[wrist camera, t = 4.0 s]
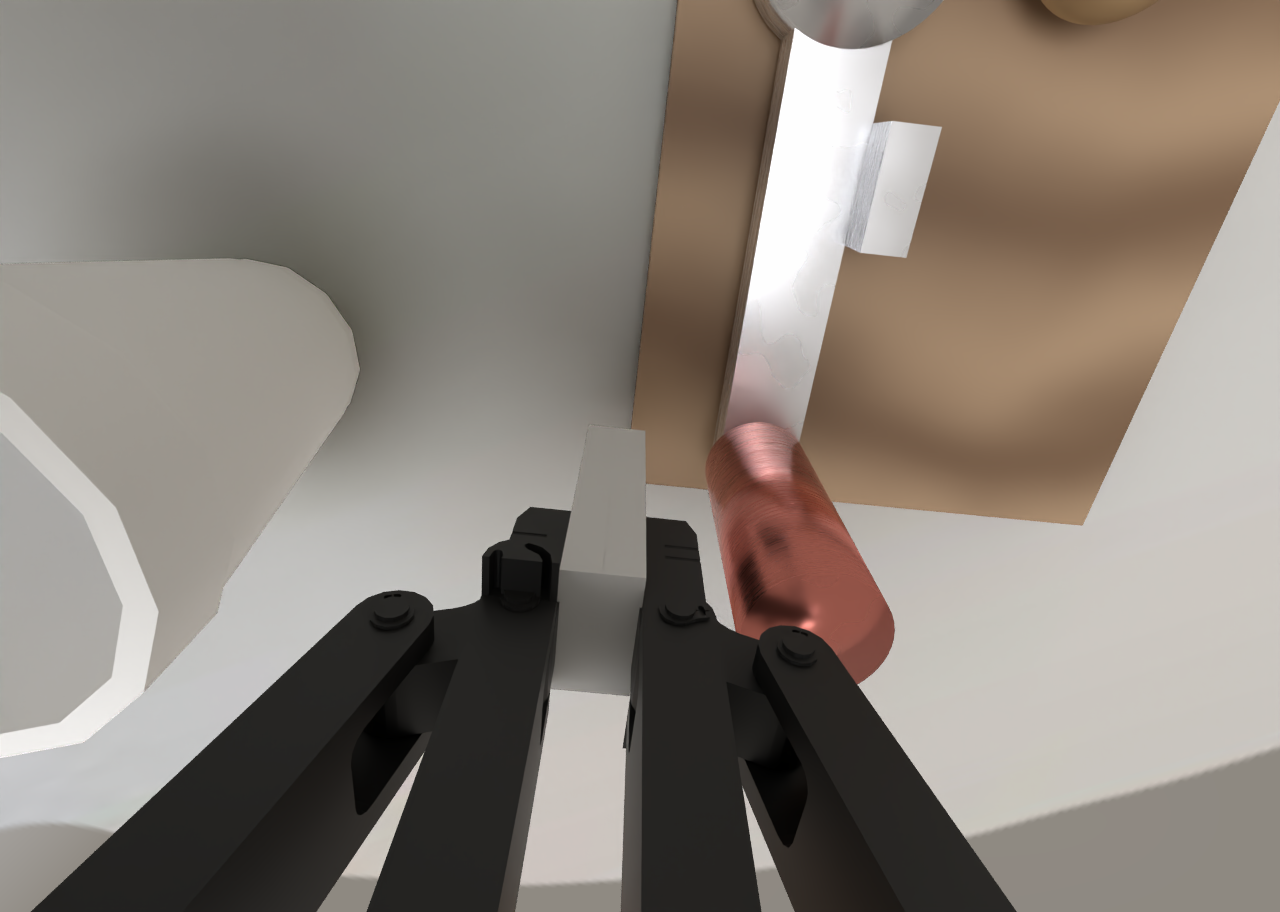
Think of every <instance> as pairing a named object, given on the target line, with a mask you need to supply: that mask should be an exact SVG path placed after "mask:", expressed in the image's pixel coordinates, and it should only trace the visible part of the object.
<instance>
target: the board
mask: <svg viewBox="0 0 1280 912" xmlns="http://www.w3.org/2000/svg"><path fill="white" fill-rule="evenodd" d="M781 42H782V40H780V39H779V38H778V37H777V36H776V35H775V34H774V33H773V31H772V30H771V29H770V28H769V27H768V25H767V24H766V22H765V21H764V19H763V18H762V16H761V14H760V12H759V10H758V8H757V7H756V4H755V1H754V0H678V1H677V10H676V19H675V29H674V38H673V47H672V56H671V65H670V74H669V84H668V93H667V102H666V111H665V120H664V129H663V139H662V148H661V157H660V166H659V175H658V185H657V194H656V203H655V212H654V221H653V230H652V240H651V249H650V258H649V267H648V276H647V285H646V295H645V304H644V313H643V322H642V331H641V340H640V350H639V359H638V368H637V377H636V386H635V396H634V405H633V414H632V423H631V429H634V430H643V431H645V455H646V484H656V485H666V486H677V487H687V488H698V489H708V486H707V481H706V476H705V466H706V461H707V457H708V454H709V452H710V450H711V448H712V447H713V442H714V437H715V431H716V425H717V419H718V413H719V407H720V401H721V395H722V389H723V384H724V378H725V372H726V366H727V360H728V354H729V348H730V342H731V336H732V331H733V325H734V319H735V313H736V307H737V301H738V295H739V289H740V283H741V278H742V272H743V266H744V260H745V254H746V248H747V242H748V236H749V230H750V225H751V219H752V213H753V207H754V201H755V195H756V189H757V183H758V177H759V172H760V166H761V160H762V154H763V148H764V142H765V136H766V130H767V124H768V119H769V113H770V107H771V101H772V95H773V89H774V83H775V77H776V71H777V66H778V60H779V54H780V48H781ZM1279 101H1280V0H1159V1H1158V2H1156V3H1155V4H1153V5H1152V6H1150V7H1148V8H1147V9H1145V10H1143V11H1141V12H1139V13H1137V14H1135V15H1133V16H1130V17H1128V18H1125V19H1123V20H1120V21H1116V22H1112V23H1108V24H1101V25H1081V24H1075V23H1071V22H1068V21H1066V20H1063V19H1061V18H1059V17H1058V16H1056V15H1055V14H1053V13H1052V12H1051V11H1050V10H1048V9H1047V8H1046V6H1045V5H1044V4H1043V3H1042V1H1041V0H943V1H942V3H941V4H940V5H939V6H938V7H937V8H936V10H935V11H934V12H932V13H931V14H930V15H929V16H928V17H927V18H926V19H925V20H924V21H923V22H921V23H920V24H919V25H917V26H916V27H915V28H913V29H912V30H910V31H909V32H907V33H905V34H903V35H902V36H900V37H898V38H896V39H894V40H892V44H891V48H890V52H889V57H888V61H887V65H886V70H885V74H884V78H883V82H882V87H881V91H880V95H879V100H878V104H877V108H876V113H875V117H874V121H873V123H880V122H888V121H897V122H905V123H913V124H922V125H930V126H938V127H942V129H941V133H940V136H939V140H938V144H937V147H936V151H935V155H934V158H933V162H932V166H931V169H930V173H929V177H928V180H927V184H926V188H925V191H924V195H923V199H922V202H921V206H920V210H919V213H918V217H917V221H916V224H915V228H914V232H913V235H912V239H911V243H910V246H909V250H908V254H907V257H906V258H903V257H894V256H885V255H876V254H867V253H860V252H858V251H855V250H853V249H851V248H849V247H847V246H845V247H844V251H843V255H842V259H841V264H840V268H839V272H838V277H837V281H836V285H835V290H834V294H833V298H832V303H831V307H830V311H829V316H828V320H827V324H826V329H825V333H824V337H823V341H822V346H821V350H820V354H819V359H818V363H817V367H816V372H815V376H814V380H813V385H812V389H811V393H810V398H809V402H808V406H807V411H806V415H805V419H804V423H803V428H802V432H801V436H800V441H799V443H800V445H801V446H802V448H803V450H804V452H805V454H806V456H807V457H808V459H809V461H810V463H811V465H812V467H813V468H814V470H815V472H816V474H817V476H818V478H819V480H820V481H821V483H822V485H823V487H824V489H825V491H826V492H827V494H828V496H829V498H830V500H831V501H833V502H843V503H853V504H864V505H874V506H884V507H895V508H905V509H916V510H926V511H936V512H947V513H957V514H968V515H978V516H988V517H999V518H1009V519H1020V520H1030V521H1040V522H1051V523H1061V524H1071V525H1083V523H1084V521H1085V519H1086V517H1087V515H1088V513H1089V510H1090V508H1091V506H1092V504H1093V502H1094V500H1095V497H1096V495H1097V493H1098V491H1099V489H1100V487H1101V485H1102V482H1103V480H1104V478H1105V476H1106V474H1107V472H1108V469H1109V467H1110V465H1111V463H1112V461H1113V459H1114V457H1115V454H1116V452H1117V450H1118V448H1119V446H1120V444H1121V441H1122V439H1123V437H1124V435H1125V433H1126V431H1127V429H1128V426H1129V424H1130V422H1131V420H1132V418H1133V416H1134V413H1135V411H1136V409H1137V407H1138V405H1139V403H1140V401H1141V398H1142V396H1143V394H1144V392H1145V390H1146V388H1147V385H1148V383H1149V381H1150V379H1151V377H1152V375H1153V373H1154V370H1155V368H1156V366H1157V364H1158V362H1159V360H1160V357H1161V355H1162V353H1163V351H1164V349H1165V347H1166V345H1167V342H1168V340H1169V338H1170V336H1171V334H1172V332H1173V329H1174V327H1175V325H1176V323H1177V321H1178V319H1179V317H1180V314H1181V312H1182V310H1183V308H1184V306H1185V304H1186V301H1187V299H1188V297H1189V295H1190V293H1191V291H1192V289H1193V286H1194V284H1195V282H1196V280H1197V278H1198V276H1199V273H1200V271H1201V269H1202V267H1203V265H1204V263H1205V261H1206V258H1207V256H1208V254H1209V252H1210V250H1211V248H1212V245H1213V243H1214V241H1215V239H1216V237H1217V235H1218V233H1219V230H1220V228H1221V226H1222V224H1223V222H1224V220H1225V217H1226V215H1227V213H1228V211H1229V209H1230V207H1231V205H1232V202H1233V200H1234V198H1235V196H1236V194H1237V192H1238V189H1239V187H1240V185H1241V183H1242V181H1243V179H1244V177H1245V174H1246V172H1247V170H1248V168H1249V166H1250V164H1251V161H1252V159H1253V157H1254V155H1255V153H1256V151H1257V149H1258V146H1259V144H1260V142H1261V140H1262V138H1263V136H1264V133H1265V131H1266V129H1267V127H1268V125H1269V123H1270V121H1271V118H1272V116H1273V114H1274V112H1275V110H1276V108H1277V105H1278V103H1279Z"/></svg>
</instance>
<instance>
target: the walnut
mask: <svg viewBox="0 0 1280 912" xmlns="http://www.w3.org/2000/svg"><path fill="white" fill-rule="evenodd" d="M1041 1H1042V3H1043V4H1044V5H1045V6H1046V8H1047V9H1048V10H1050V11H1051V12H1052V13H1053V14H1055V15H1056V16H1058V17H1059V18H1061V19H1063V20H1066V21H1068V22H1071V23H1075V24H1081V25H1101V24H1108V23H1112V22H1116V21H1120V20H1123V19H1125V18H1128V17H1130V16H1133V15H1135V14H1137V13H1139V12H1141V11H1143V10H1145V9H1147V8H1148V7H1150V6H1152V5H1153V4H1155V3H1156V2H1158V1H1159V0H1041Z"/></svg>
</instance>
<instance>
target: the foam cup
mask: <svg viewBox="0 0 1280 912" xmlns="http://www.w3.org/2000/svg"><path fill="white" fill-rule="evenodd" d="M359 372H360V367H359V362H358V357H357V352H356V347H355V342H354V337H353V332H352V330H351V328H350V327H349V325H348V324H347V323H346V321H345V320H344V318H343V317H342V315H341V314H340V312H339V311H338V310H337V308H336V307H335V305H334V304H333V302H332V301H331V299H330V298H329V297H328V295H327V294H326V293H325V292H323V291H322V290H320V289H319V288H317V287H316V286H314V285H313V284H311V283H310V282H308V281H307V280H305V279H304V278H303V277H301V276H300V275H298V274H297V273H295V272H294V271H292V270H291V269H289V268H287V267H283V266H278V265H273V264H269V263H264V262H259V261H255V260H250V259H245V258H244V259H240V260H239V259H234V258H218V259H177V260H136V261H96V262H55V263H14V264H0V758H4V757H9V756H15V755H20V754H26V753H31V752H36V751H42V750H47V749H52V748H58V747H63V746H69V745H74V744H79V743H84V742H85V741H86V740H87V739H89V738H90V737H91V736H92V735H93V734H95V733H96V732H97V731H98V730H99V729H101V728H102V727H103V726H104V725H105V724H107V723H108V722H109V721H110V720H111V719H113V718H114V717H115V716H116V715H117V714H119V713H120V712H121V711H122V710H123V709H125V708H126V707H127V706H128V705H129V704H131V703H132V702H133V701H134V700H135V699H137V698H138V697H139V696H140V695H141V694H143V693H144V692H145V691H146V689H147V688H148V687H149V686H150V685H151V684H152V683H153V682H154V681H155V680H156V679H157V678H158V677H159V675H160V674H161V673H162V672H163V671H164V670H165V669H166V668H167V667H168V666H169V665H170V664H171V662H172V661H173V660H174V659H175V658H176V657H177V656H178V655H179V654H180V653H181V652H182V651H183V650H184V648H185V647H186V646H187V645H188V644H189V643H190V642H191V641H192V640H193V639H194V638H195V637H196V635H197V634H198V633H199V632H200V631H201V630H202V629H203V628H204V627H205V626H206V625H207V624H208V622H209V621H210V620H211V619H212V618H213V617H214V616H215V615H216V614H217V613H218V608H219V604H220V600H221V596H222V591H223V587H224V586H225V584H226V583H227V582H228V580H229V579H230V577H231V576H232V574H233V573H234V571H235V570H236V569H237V567H238V566H239V564H240V563H241V561H242V560H243V558H244V557H245V556H246V554H247V553H248V551H249V550H250V548H251V547H252V545H253V544H254V543H255V541H256V540H257V538H258V537H259V535H260V534H261V532H262V531H263V530H264V528H265V527H266V525H267V524H268V522H269V521H270V519H271V518H272V517H273V515H274V514H275V512H276V511H277V509H278V508H279V506H280V505H281V504H282V502H283V501H284V499H285V498H286V496H287V495H288V493H289V492H290V491H291V489H292V488H293V486H294V485H295V483H296V482H297V480H298V479H299V478H300V476H301V475H302V473H303V472H304V470H305V469H306V467H307V466H308V465H309V463H310V462H311V460H312V459H313V457H314V456H315V454H316V453H317V452H318V450H319V449H320V447H321V446H322V444H323V443H324V441H325V440H326V439H327V437H328V436H329V434H330V433H331V431H332V430H333V428H334V427H335V426H336V424H337V423H338V421H339V420H340V418H341V417H342V415H343V414H344V413H345V411H346V407H347V406H348V405H349V404H350V403H351V399H352V396H353V392H354V389H355V386H356V382H357V379H358V375H359Z"/></svg>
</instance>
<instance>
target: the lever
mask: <svg viewBox="0 0 1280 912" xmlns="http://www.w3.org/2000/svg"><path fill="white" fill-rule="evenodd" d="M754 1H755V4H756V7H757V8H758V10H759V12H760V14H761V16H762V18H763V19H764V21H765V22H766V24H767V25H768V27H769V28H770V29H771V30H772V31H773V33H774V34H775V35H776V36H777V37H778V38H779V39H780V40H782V42H781V48H780V54H779V60H778V66H777V71H776V77H775V83H774V89H773V95H772V101H771V107H770V113H769V119H768V124H767V130H766V136H765V142H764V148H763V154H762V160H761V166H760V172H759V177H758V183H757V189H756V195H755V201H754V207H753V213H752V219H751V225H750V230H749V236H748V242H747V248H746V254H745V260H744V266H743V272H742V278H741V283H740V289H739V295H738V301H737V307H736V313H735V319H734V325H733V331H732V336H731V342H730V348H729V354H728V360H727V366H726V372H725V378H724V384H723V389H722V395H721V401H720V407H719V413H718V419H717V425H716V431H715V437H714V442H713V447H712V448H711V450H710V452H709V454H708V457H707V461H706V466H705V476H706V481H707V486H708V491H709V496H710V501H711V506H712V512H713V517H714V522H715V527H716V532H717V537H718V542H719V547H720V553H721V558H722V563H723V568H724V573H725V578H726V583H727V588H728V594H729V599H730V604H731V609H732V614H733V619H734V624H735V629H736V632H737V633H740V634H742V635H745V636H749V637H752V638H755V639H758V640H759V638H760V635H761V634H762V633H763V632H764V631H765V630H767V629H768V628H770V627H775V626H779V625H786V626H796V627H799V628H802V629H805V630H809V631H810V632H812V633H814V634H816V635H817V636H819V637H821V638H822V639H823V640H824V641H825V642H826V643H827V644H828V645H829V646H830V647H831V648H832V649H833V651H834V652H835V654H836V655H837V657H838V658H839V659H840V661H841V662H842V664H843V665H844V667H845V668H846V669H847V671H848V672H849V674H850V675H851V677H852V678H853V679H854V681H855V682H856V684H859V683H860V682H862V681H864V680H865V679H866V678H868V677H869V676H870V675H872V674H873V673H874V672H875V671H876V670H877V669H878V668H879V667H880V665H881V664H882V663H883V662H884V660H885V659H886V657H887V655H888V654H889V651H890V649H891V647H892V643H893V640H894V632H895V628H894V620H893V616H892V613H891V611H890V609H889V607H888V605H887V603H886V601H885V599H884V597H883V596H882V594H881V592H880V590H879V588H878V586H877V585H876V583H875V581H874V579H873V577H872V575H871V574H870V572H869V570H868V568H867V566H866V564H865V562H864V561H863V559H862V557H861V555H860V553H859V551H858V550H857V548H856V546H855V544H854V542H853V540H852V538H851V537H850V535H849V533H848V531H847V529H846V527H845V526H844V524H843V522H842V520H841V518H840V516H839V515H838V513H837V511H836V509H835V507H834V505H833V503H832V502H831V500H830V498H829V496H828V494H827V492H826V491H825V489H824V487H823V485H822V483H821V481H820V480H819V478H818V476H817V474H816V472H815V470H814V468H813V467H812V465H811V463H810V461H809V459H808V457H807V456H806V454H805V452H804V450H803V448H802V446H801V445H800V443H799V441H800V436H801V432H802V428H803V423H804V419H805V415H806V411H807V406H808V402H809V398H810V393H811V389H812V385H813V380H814V376H815V372H816V367H817V363H818V359H819V354H820V350H821V346H822V341H823V337H824V333H825V329H826V324H827V320H828V316H829V311H830V307H831V303H832V298H833V294H834V290H835V285H836V281H837V277H838V272H839V268H840V264H841V259H842V255H843V251H844V247H845V246H847V247H849V248H851V249H853V250H855V251H858V252H860V253H867V254H876V255H885V256H894V257H903V258H906V257H907V254H908V250H909V246H910V243H911V239H912V235H913V232H914V228H915V224H916V221H917V217H918V213H919V210H920V206H921V202H922V199H923V195H924V191H925V188H926V184H927V180H928V177H929V173H930V169H931V166H932V162H933V158H934V155H935V151H936V147H937V144H938V140H939V136H940V133H941V129H942V127H938V126H930V125H922V124H913V123H905V122H897V121H888V122H880V123H873V121H874V117H875V113H876V108H877V104H878V100H879V95H880V91H881V87H882V82H883V78H884V74H885V70H886V65H887V61H888V57H889V52H890V48H891V44H892V40H894V39H896V38H898V37H900V36H902V35H903V34H905V33H907V32H909V31H910V30H912V29H913V28H915V27H916V26H917V25H919V24H920V23H921V22H923V21H924V20H925V19H926V18H927V17H928V16H929V15H930V14H931V13H932V12H934V11H935V10H936V8H937V7H938V6H939V5H940V4H941V3H942V1H943V0H754Z"/></svg>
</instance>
